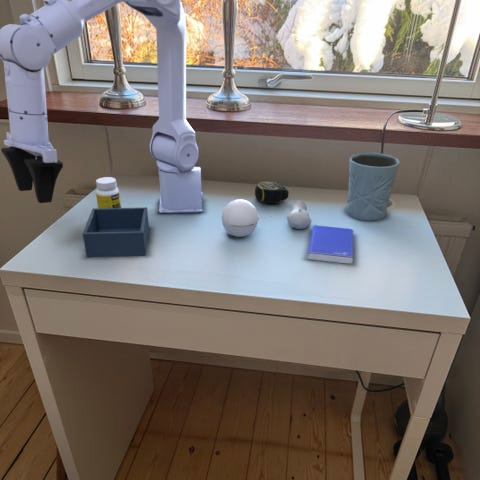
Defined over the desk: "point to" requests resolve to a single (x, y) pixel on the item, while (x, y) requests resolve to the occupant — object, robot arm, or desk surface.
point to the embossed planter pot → (370, 185)
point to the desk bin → (116, 232)
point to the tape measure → (270, 192)
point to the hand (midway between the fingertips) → (34, 196)
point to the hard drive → (331, 244)
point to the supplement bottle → (107, 193)
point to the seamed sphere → (240, 218)
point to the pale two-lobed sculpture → (298, 215)
